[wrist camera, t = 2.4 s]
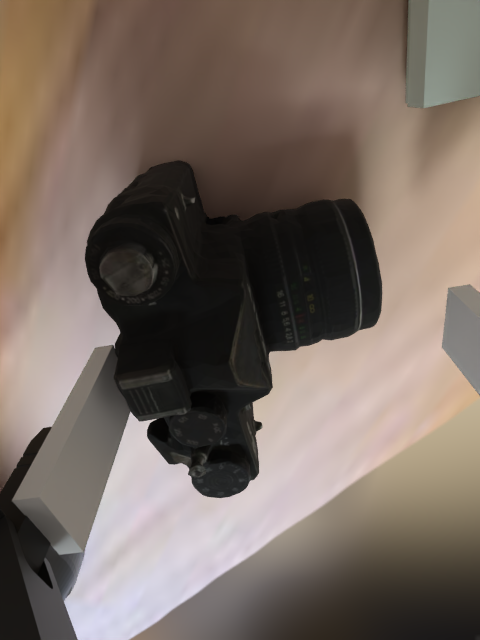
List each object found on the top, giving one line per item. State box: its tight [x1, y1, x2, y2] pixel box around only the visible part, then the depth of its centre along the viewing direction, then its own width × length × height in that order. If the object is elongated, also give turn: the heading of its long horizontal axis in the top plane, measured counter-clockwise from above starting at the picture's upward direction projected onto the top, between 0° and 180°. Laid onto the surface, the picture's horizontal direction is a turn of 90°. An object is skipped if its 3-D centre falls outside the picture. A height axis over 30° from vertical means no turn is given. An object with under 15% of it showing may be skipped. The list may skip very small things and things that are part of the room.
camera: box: [85, 161, 382, 498], centre depth 17 cm, size 14×11×10 cm
